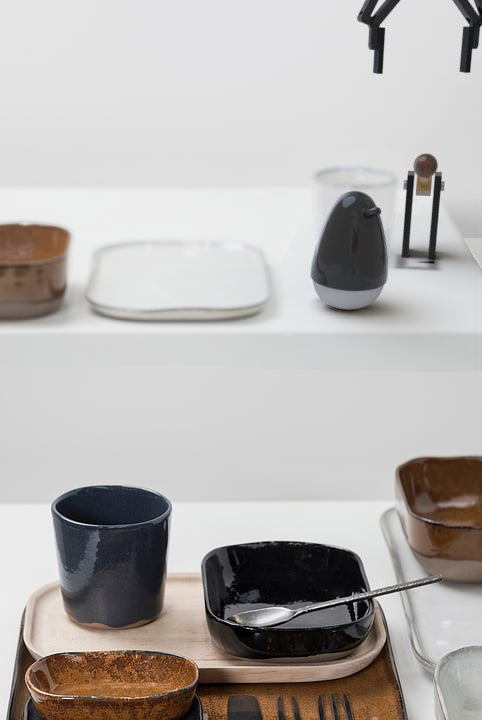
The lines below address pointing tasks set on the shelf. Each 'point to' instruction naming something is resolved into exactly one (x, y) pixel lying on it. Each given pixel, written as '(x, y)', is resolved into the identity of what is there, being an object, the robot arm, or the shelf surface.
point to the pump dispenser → (351, 253)
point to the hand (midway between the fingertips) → (421, 73)
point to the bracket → (434, 217)
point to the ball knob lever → (424, 173)
